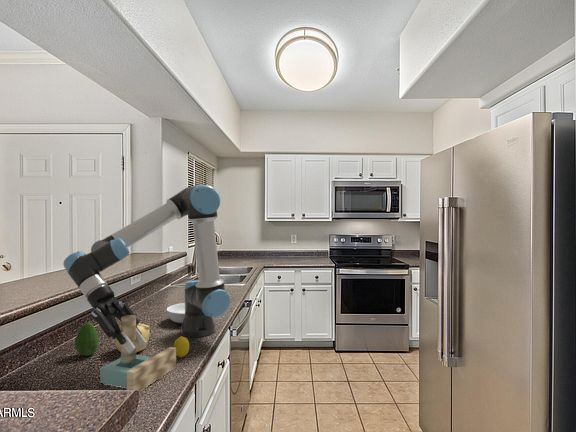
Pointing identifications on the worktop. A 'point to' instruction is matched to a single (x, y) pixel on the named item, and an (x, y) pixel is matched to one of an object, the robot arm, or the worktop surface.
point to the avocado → (87, 340)
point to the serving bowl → (176, 312)
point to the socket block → (119, 371)
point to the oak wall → (151, 369)
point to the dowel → (130, 329)
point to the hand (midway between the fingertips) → (138, 347)
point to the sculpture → (145, 333)
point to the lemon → (181, 346)
